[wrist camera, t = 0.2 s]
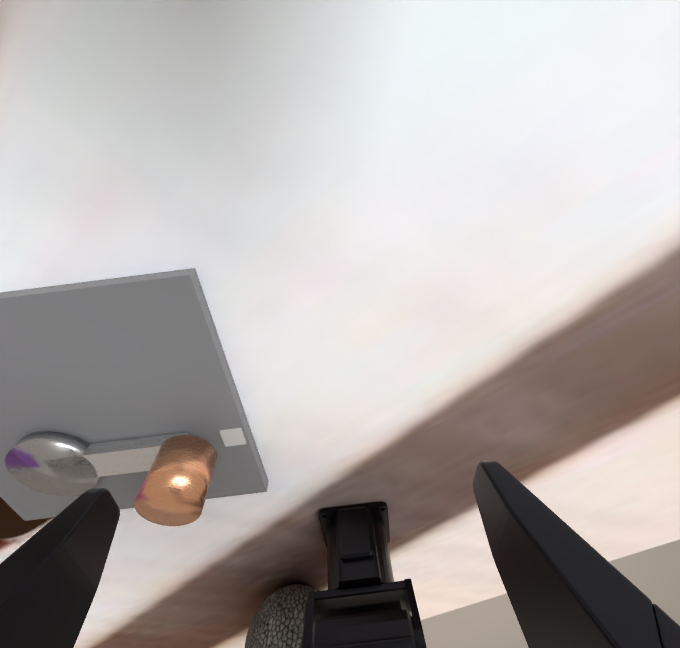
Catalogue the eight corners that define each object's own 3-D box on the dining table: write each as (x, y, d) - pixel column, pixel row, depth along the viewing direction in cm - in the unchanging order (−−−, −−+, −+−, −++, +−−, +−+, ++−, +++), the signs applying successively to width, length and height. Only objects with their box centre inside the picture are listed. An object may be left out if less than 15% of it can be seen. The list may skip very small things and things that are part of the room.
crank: (43, 488, 28) (-7, 556, 23) (-3, 436, 25) (-71, 503, 20) (230, 466, 28) (214, 530, 23) (207, 411, 24) (183, 473, 20)
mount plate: (268, 481, 31) (266, 493, 30) (32, 509, 31) (23, 522, 30) (195, 268, 20) (188, 276, 19) (-157, 312, 21) (-181, 322, 20)
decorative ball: (240, 600, 42) (220, 725, 33) (272, 559, 37) (259, 691, 29) (316, 612, 44) (316, 731, 36) (354, 575, 40) (364, 700, 31)
